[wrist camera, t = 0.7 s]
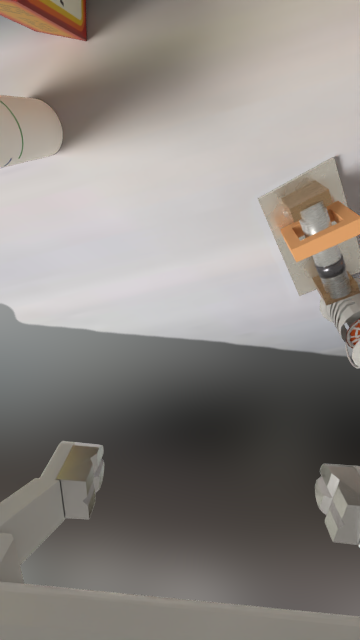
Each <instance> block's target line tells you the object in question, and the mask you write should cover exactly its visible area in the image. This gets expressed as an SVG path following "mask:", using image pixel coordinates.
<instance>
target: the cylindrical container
mask: <svg viewBox="0 0 360 640" xmlns="http://www.w3.org/2000/svg"><path fill="white" fill-rule="evenodd" d="M62 141H63V131H62V126H61V123H60V120H59V118H58V116H57V115H56V113H55V112H54V110H53V109H52V108H51V107H50V106H49V105H48V104H46V103H45V102H43V101H41V100H39V99H34V98H25V97H14V96H4V95H0V168H3V167H7V166H11V165H16V164H20V163H24V162H28V161H32V160H36V159H40V158H44V157H49V156H52V155H54V154H55V153H57V151H58V150H59V149H60V147H61V145H62Z"/></svg>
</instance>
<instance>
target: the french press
mask: <svg viewBox="0 0 360 640" xmlns="http://www.w3.org/2000/svg"><path fill="white" fill-rule="evenodd" d="M354 279H355V281H356V282H357V284H358V287H359V290H360V278H354ZM320 311H321V313H322V315H323V317H324V318H326V319H327V320H329V321H330V322H333V323H334V325H335V326H336V328H337V330H338V332H339V334H340V335H341V337H342V339H343V340H344V341H345V342H346V352H347V356H348V359H349V361H350V362H351V364H352V365H353V366H354V367H356V368H360V293H359V294H356V295H354V296H351V297H348V298H346V299H343V300H340V301H338V302H335V303H332V304H330V305H327V306H326V304H325V302H324V301H323V299H321V301H320ZM344 323H347V324H348V325H349V327H350V328H349V329H348V331H347V329H346V328H345V326H344ZM347 343H348V345H349V346H350V347H351V348H353V353H352V359H353V361H354V363H355V365H357V366H358V367H357V366H355V365H354V364H353V363H352V361H351V359H350V357H349V354H348V349H347Z"/></svg>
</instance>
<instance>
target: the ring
mask: <svg viewBox="0 0 360 640" xmlns="http://www.w3.org/2000/svg"><path fill="white" fill-rule="evenodd" d="M326 208H327V211H328V214H329V217H330V221H331V222H333V221H335V222H336V223H337V224H335V225H333V226H331V227H328V228H326V229H324V230H322V231H320V232H318V233H316V234H314V235H311V236H309V237H307V238H305V239H303V240H301V241H300V240H299V237H302V236H304V233H303V230H302V227H301V225H300V222H299V221H297V222H294V223H292V224H290V225H288V226H286V227H284V228H282V229H280V230H281V233H282V235H283V238H284V240H285V242H286V244H287V246H288V248H289V249H290V251H291V253H292V255H293V257H294V259H295V261H296V262H299V261H301V260H303V259H306V258H308V257H310V256H312V255H315V254H317V253H319V252H321V251H324V250H326V249H328V248H330V247H333V246H335V245H337V244H339V243H342V242H344V241H346V240H348V239H351V238H353V237H355V236H357V235H360V216H359V215H358V214H356V213H355V212H353V211H352V210H351V209H349V208H348V207H346V206H345V205H344V204H342V203H341V202H339V201H336V202H334V203H333V204H331V205H329V206H327V207H326Z"/></svg>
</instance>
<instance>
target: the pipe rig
mask: <svg viewBox="0 0 360 640" xmlns="http://www.w3.org/2000/svg"><path fill="white" fill-rule="evenodd" d="M258 200H259V203H260V205H261V207H262V210H263V212H264V214H265V217H266V219H267V221H268V224H269V226H270V228H271V231H272V233H273V235H274V238H275V240H276V242H277V245H278V247H279V249H280V252H281V254H282V256H283V259H284V261H285V263H286V266H287V268H288V270H289V273H290V275H291V277H292V280H293V282H294V284H295V287H296V289H297V291H298V294H299V296H301V295H303V294H306V293H308V292H311V291H313V290H316V289H317V290H318V292H319V294H320V295H321V297H322V299H323V301H324V302H325V304H326V306H327V305H330V304H332V303H335V302H338V301H340V300H343V299H346V298H348V297H351V296H354V295H356V294H359V293H360V290H359V287H358V284H357V282H356V281H355V279H354V278H353V277H352V276H351V275H353V274H356V273H358V272H360V248H359V244H358V241H357V237H356V236H355V237H353V238H351V239H348V240H346V241H344V242H342V243H339V244H337V245H335V246H333V247H330V248H328V249H326V250H324V251H321V252H319V253H317V254H315V255H312V256H310V257H308V258H306V259H303V260H301V261H299V262H296V261H295V259H294V257H293V255H292V253H291V251H290V249H289V248H288V246H287V244H286V242H285V240H284V238H283V235H282V233H281V230H280V229H282V228H284V227H286V226H288V225H290V224H292V223H294V222H297V221H299V222H300V225H301V227H302V230H303V233H304V236H302V237H299V240H300V241H301V240H303V239H305V238H307V237H309V236H311V235H314V234H316V233H318V232H320V231H322V230H324V229H326V228H328V227H331V226H333V225H335V224H337V223H336V222H335V221H333V222H331V221H330V217H329V214H328V211H327V208H326V207H327V206H329V205H331V204H333V203H334V202H336V201H339V202H341V203H342V204H344V205H345V206H346V207H348V205H347V202H346V198H345V195H344V191H343V188H342V184H341V180H340V177H339V173H338V170H337V166H336V163H335V159H334V158H333V157H332V158H330V159H328V160H327V161H325V162H323V163H321V164H319V165H317V166H316V167H314V168H312V169H310V170H308V171H307V172H305V173H303V174H301V175H299V176H298V177H296V178H294V179H292V180H290V181H288V182H287V183H285V184H283V185H281V186H279V187H278V188H276V189H274V190H272V191H270V192H269V193H267V194H265V195H263V196H261V197H260V198H258Z"/></svg>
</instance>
